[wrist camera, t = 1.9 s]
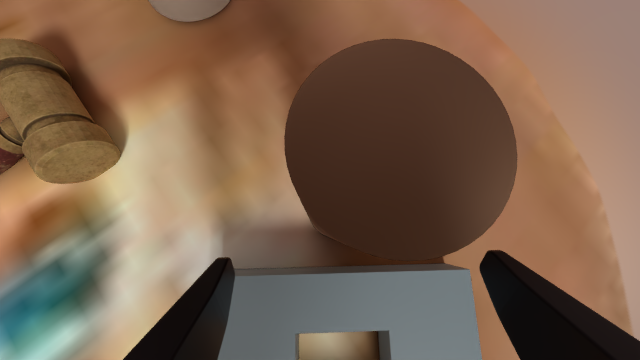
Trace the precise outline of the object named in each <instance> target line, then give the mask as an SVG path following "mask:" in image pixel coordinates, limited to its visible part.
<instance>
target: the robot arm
mask: <svg viewBox="0 0 640 360" xmlns="http://www.w3.org/2000/svg"><path fill="white" fill-rule="evenodd" d="M480 273H481V275H482V278H483V280H484V283H485V285H486V288H487V290H488V293H489V295H490V298H491V300H492V303H493V305H494V308H495V310H496V312H497V315H498V317H499V319H500V321H501V323H502V325H503V327H504V329H505V331H506V333H507V335H508V336H509V338H510V340H511V342H512V344H513V346H514V348H515V350H516V352H517V354H518V356H519V358H520V360H640V341H639V340H637V339H636V338H634V337H633V336H631V335H630V334H628V333H627V332H625V331H623V330H622V329H620V328H619V327H617V326H616V325H614V324H613V323H611V322H610V321H608V320H607V319H605V318H604V317H602V316H601V315H599V314H598V313H596V312H595V311H593V310H592V309H590V308H589V307H587V306H586V305H584V304H582V303H581V302H579V301H578V300H576V299H575V298H573V297H572V296H570V295H569V294H567V293H566V292H564V291H563V290H561V289H560V288H558V287H557V286H555V285H554V284H552V283H551V282H549V281H548V280H546V279H544V278H543V277H541V276H540V275H538V274H537V273H535V272H534V271H532V270H531V269H529V268H528V267H526V266H525V265H523V264H522V263H520V262H519V261H517V260H516V259H514V258H513V257H511V256H510V255H508V254H507V253H505V252H503V251H501V250H489V251H487V253H486V254H485V256H484V258H483V260H482V262H481V263H480ZM234 281H235V271H234V268H233V264H232V261H231V259H230V258H228V257H224V258H217V259H216V260H215V261H214V262H213V263H212V264H211V265H210V266H209V267H208V268H207V270H206V271H205V272H204V273H203V274H202V275H201V276H200V277H199V278H198V279H197V280H196V281H195V282H194V284H193V285H192V286H191V287H190V288H189V289H188V290H187V291H186V292H185V293H184V294H183V295H182V296H181V298H180V299H179V300H178V301H177V302H176V303H175V304H174V305H173V306H172V307H171V308H170V309H169V310H168V311H167V313H166V314H165V315H164V316H163V317H162V318H161V319H160V320H159V321H158V322H157V323H156V324H155V325H154V327H153V328H152V329H151V330H150V331H149V332H148V333H147V334H146V335H145V336H144V337H143V338H142V339H141V341H140V342H139V343H138V344H137V345H136V346H135V347H134V348H133V349H132V350H131V351H130V352H129V353H128V354H127V356H126V357H125V358H124V359H123V360H218V356H219V353H220V349H221V345H222V342H223V338H224V334H225V331H226V327H227V323H228V317H229V311H230V305H231V299H232V293H233V287H234Z"/></svg>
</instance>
